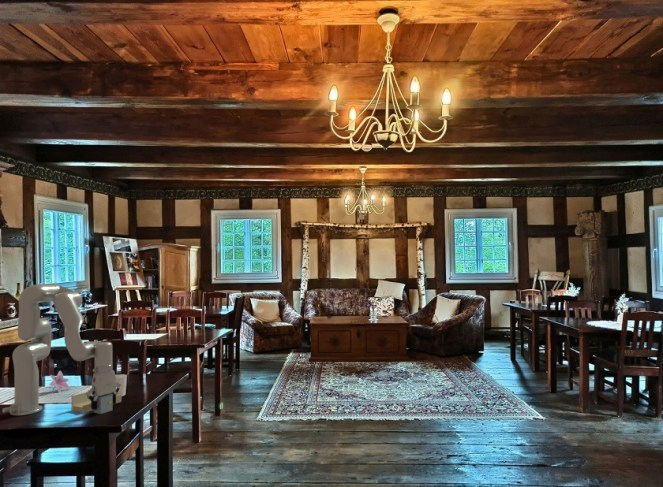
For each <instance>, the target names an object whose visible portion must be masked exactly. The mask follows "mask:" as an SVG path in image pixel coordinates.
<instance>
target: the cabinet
mask: <svg viewBox="0 0 663 487" xmlns="http://www.w3.org/2000/svg"><path fill="white" fill-rule="evenodd" d="M96 401H97V410H93V413H95V414H97V415H98V414H99V415H103V414H105V413H108V412H112V411H113V405H114V404H113V394H111V393H109V394H106V395H102V396H98V398H97V399H96Z"/></svg>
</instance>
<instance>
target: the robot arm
mask: <svg viewBox="0 0 663 487" xmlns="http://www.w3.org/2000/svg"><path fill="white" fill-rule="evenodd" d="M44 302H45V303H47V302H53V303H52V304H53V305H54V308H55V310H56V312H57V314H58V317H59V319H60V320H61V322H62V324H63V327H64V332H63V333H64V334H63V336H64V338H63V339H64V344H65V347H66V349H67V350H68V353H69V355H70V356H71V358H72V359H73V360H74V361H77V362H82V361H86V360H88V359H92V358H94V368H93V369H92V372H93V376H92V379H91V380H92V382H91V388H90V389H88V390H87V391H85V392H86V395H87V398H88V399H90V401H91V408H92V409H93V411H94V410H97V401H96V399H97V398H98V396H102V395H106V394H109V393H111V394H113V405H116V404H117V403H116V395H117V392H118V391H119V388H120V386H121V384H119V383H116V376H115V375H116V373H115V370H114V369H113V368H114V367H113V343H112V342H111V341H100V342H99V341H87V342H83V340H82V339H81V336H80V328H81V326H82V325H83V323H84V321H85V320H84V317H83V314H82V312H81V311H80V308H79V307H81V305H82V304H83V297H82V295H81V294H80V292H78V291H76V290H74V289H70V288H67V287H65V286H63V285H60V284H57V283H41V284H40V283H39V284H33V285H30V286H28V287H26V288H24V289H23V290H22V292H21V293H20V295H19V298H18V321H17V322H18V324H17V336H18V339H19V340H21V341H24V342H25V341H29V342H27V343H23V344H20V345H18V346H17V347H15V349H14V350H13V352H12V362H13V369H14V395H13V396H14V399H13V400H14V402H13V403H12V404H11V405H10V406H9V407H7V406H6V407H4V408H2V413H3V414H5V413H9V415H11V416H26V415H31V414H35V413H38V412H40V411H42V410H43V406H42V405H39V403H40V402H39V397H40V394H39V389H40V388H39V386H40V374H39V373H40V370H39V367H38V364H37V362H38V361H42V360H44V359H46V358H47V357H48V356H49V355H50V354H51V353H50V352H51V348H52V334H53V333H52V332H53V330H52V325H51V322H50V321H49V320H48V319H46V318H44V317H43V318H42V317H41V308H40V306H39V304H40V303H44ZM91 393H92V396H91Z"/></svg>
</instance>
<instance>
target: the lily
mask: <svg viewBox="0 0 663 487" xmlns="http://www.w3.org/2000/svg"><path fill="white" fill-rule="evenodd" d="M49 376H50V378H51V380H52V381H51V382H50V383H49V386H51V387H54V388H52V391H54V389H55V388H56V389H57V391H58V393H59V392H60V393H61V391H62V389H66V390H71V387H70V385H69V384H68V381H69V378H64V374H63V373H62V371H61V370H59V371H58V373H57V375H56V376H55V375H52V374H50V375H49Z"/></svg>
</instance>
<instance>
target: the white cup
mask: <svg viewBox="0 0 663 487" xmlns="http://www.w3.org/2000/svg"><path fill="white" fill-rule="evenodd" d="M115 376H116V383H119V384H121V386H120V388H119V391H118V392H117V395H120V394H121V397H124V396H125V395H126V390H127V380H128V379H127V377H128V375H127V374H124V373H123V374H121V373H120V374H115ZM117 395H116V396H117Z"/></svg>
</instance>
